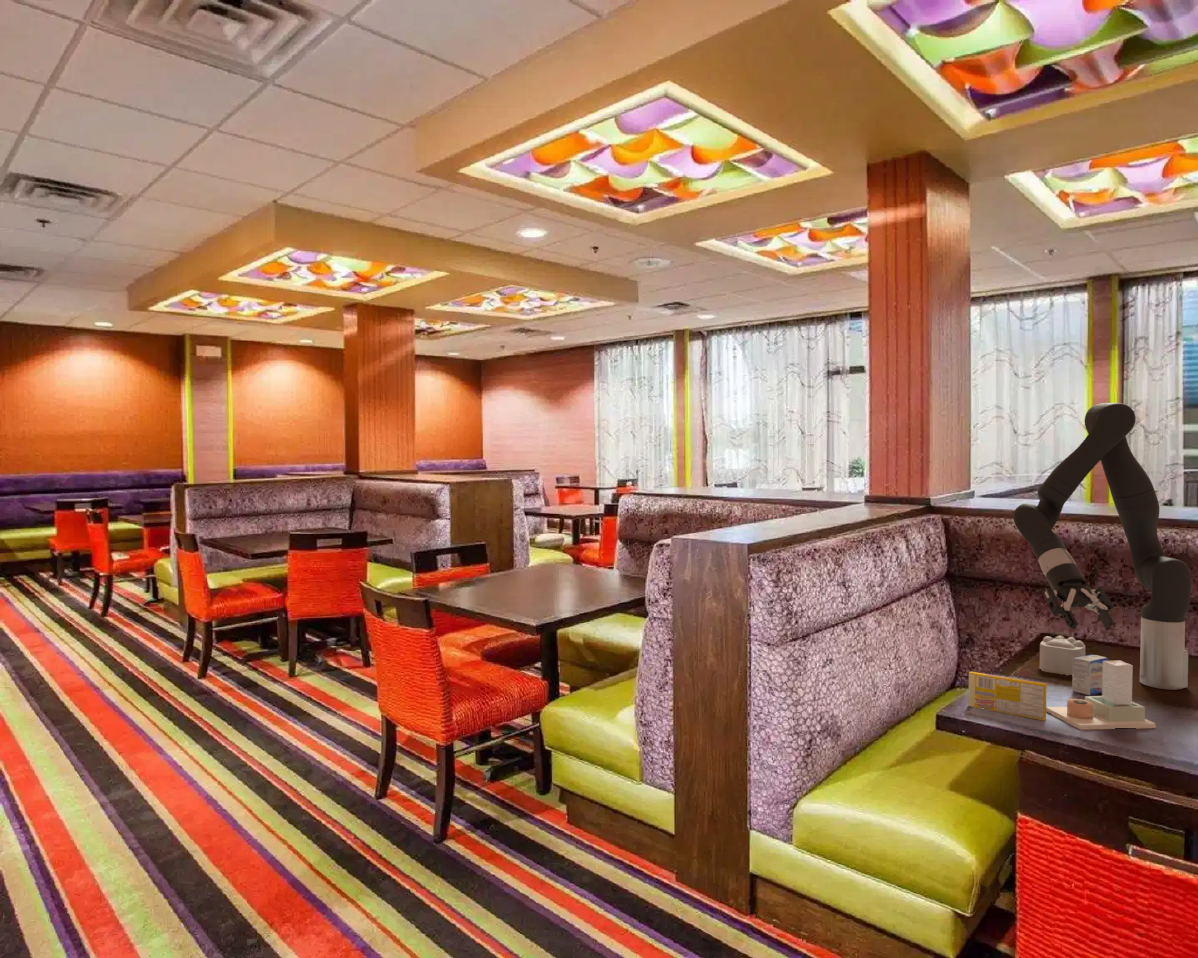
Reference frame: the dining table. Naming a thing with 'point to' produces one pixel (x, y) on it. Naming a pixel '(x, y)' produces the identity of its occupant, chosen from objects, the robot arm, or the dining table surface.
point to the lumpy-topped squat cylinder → (1060, 654)
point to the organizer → (1101, 714)
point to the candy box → (1007, 695)
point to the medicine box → (1087, 674)
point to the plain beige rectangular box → (1117, 683)
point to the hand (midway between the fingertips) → (1092, 626)
